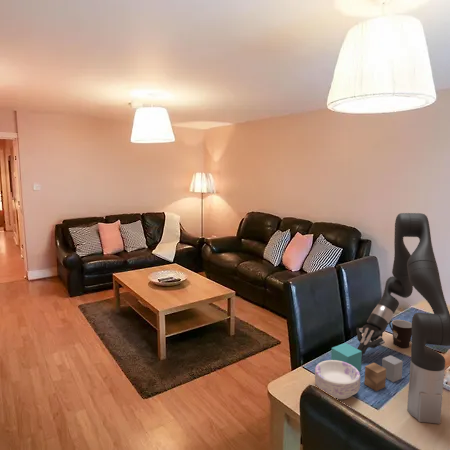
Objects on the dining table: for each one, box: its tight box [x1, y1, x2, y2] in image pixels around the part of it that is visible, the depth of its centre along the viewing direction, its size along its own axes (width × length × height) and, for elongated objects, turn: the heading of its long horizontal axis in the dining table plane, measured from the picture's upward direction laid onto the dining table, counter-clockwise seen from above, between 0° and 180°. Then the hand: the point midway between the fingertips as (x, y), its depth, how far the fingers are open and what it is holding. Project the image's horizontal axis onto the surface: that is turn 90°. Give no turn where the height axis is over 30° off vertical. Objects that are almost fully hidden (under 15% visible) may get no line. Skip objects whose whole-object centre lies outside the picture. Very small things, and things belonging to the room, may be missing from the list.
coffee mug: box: [388, 319, 412, 349], centre depth 153 cm, size 12×9×10 cm
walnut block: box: [363, 362, 387, 392], centre depth 123 cm, size 5×5×7 cm
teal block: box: [330, 342, 363, 372], centre depth 134 cm, size 8×8×8 cm
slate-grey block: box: [381, 354, 404, 383], centre depth 128 cm, size 5×5×7 cm
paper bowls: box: [314, 359, 361, 400], centre depth 120 cm, size 15×15×8 cm
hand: (359, 353), depth 138 cm, fingers closed
